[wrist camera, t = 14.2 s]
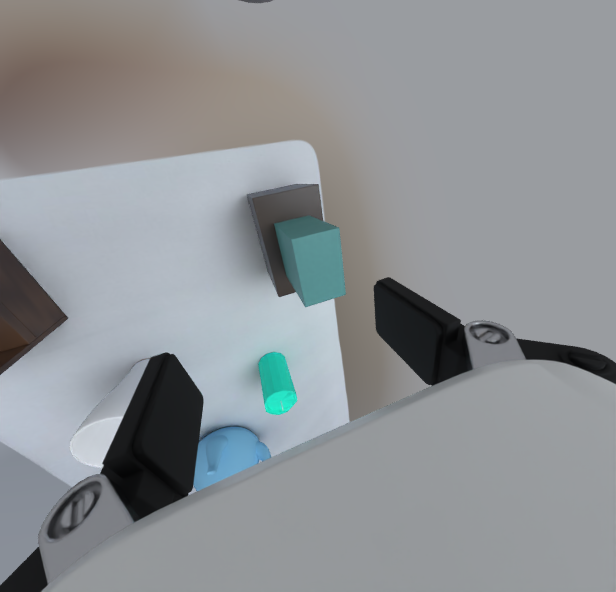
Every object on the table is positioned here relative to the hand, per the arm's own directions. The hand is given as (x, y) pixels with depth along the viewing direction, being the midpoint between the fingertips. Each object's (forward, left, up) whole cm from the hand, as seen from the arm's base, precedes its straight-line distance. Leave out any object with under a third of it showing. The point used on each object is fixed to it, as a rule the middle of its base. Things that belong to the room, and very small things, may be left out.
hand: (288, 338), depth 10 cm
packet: (+2, +5, -20) cm, 20 cm away
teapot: (+50, -19, -30) cm, 61 cm away
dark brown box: (+2, +5, -30) cm, 30 cm away
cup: (+21, -24, -30) cm, 44 cm away
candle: (+29, -3, -30) cm, 41 cm away
